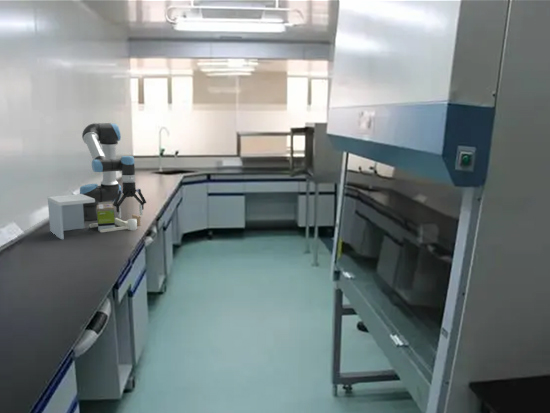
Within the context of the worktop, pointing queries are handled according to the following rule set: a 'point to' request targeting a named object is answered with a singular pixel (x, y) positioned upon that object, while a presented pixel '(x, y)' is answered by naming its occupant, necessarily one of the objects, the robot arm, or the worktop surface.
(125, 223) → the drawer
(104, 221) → the tea box
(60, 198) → the panel
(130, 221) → the white rounded capsule
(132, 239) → the worktop surface
